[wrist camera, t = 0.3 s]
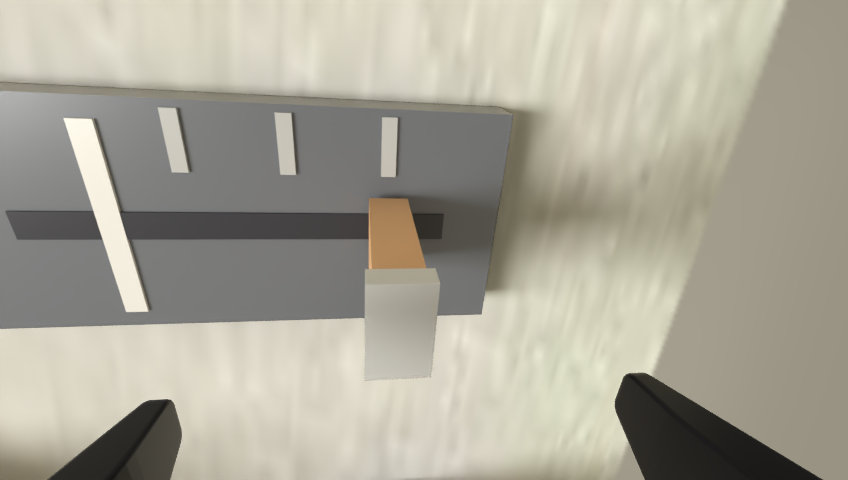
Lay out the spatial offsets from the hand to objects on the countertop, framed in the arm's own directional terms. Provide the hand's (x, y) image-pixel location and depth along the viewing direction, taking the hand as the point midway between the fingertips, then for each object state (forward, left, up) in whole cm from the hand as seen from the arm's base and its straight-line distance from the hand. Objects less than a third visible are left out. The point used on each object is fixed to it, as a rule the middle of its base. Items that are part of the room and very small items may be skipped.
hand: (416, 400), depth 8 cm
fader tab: (-1, 0, -10) cm, 10 cm away
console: (-1, +6, -13) cm, 14 cm away
